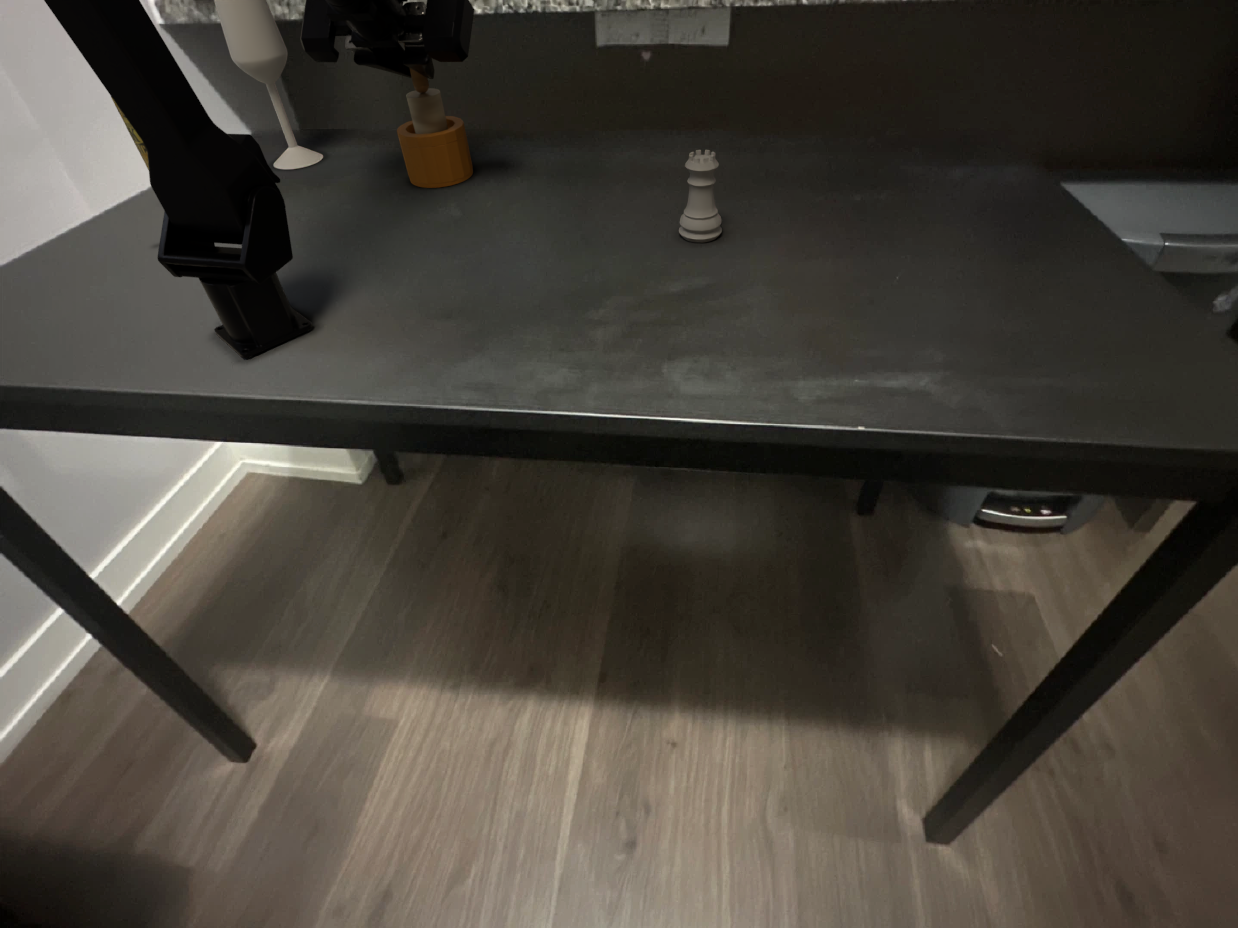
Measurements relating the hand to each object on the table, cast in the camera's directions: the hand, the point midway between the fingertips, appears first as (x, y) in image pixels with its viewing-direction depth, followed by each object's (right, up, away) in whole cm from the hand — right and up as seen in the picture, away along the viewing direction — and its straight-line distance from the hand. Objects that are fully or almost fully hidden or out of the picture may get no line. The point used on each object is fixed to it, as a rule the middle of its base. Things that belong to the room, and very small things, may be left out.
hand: (424, 74), depth 81 cm
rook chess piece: (+31, -22, -10) cm, 40 cm away
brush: (0, -6, +4) cm, 7 cm away
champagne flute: (-22, -4, +14) cm, 26 cm away
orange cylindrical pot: (0, -9, +7) cm, 11 cm away
